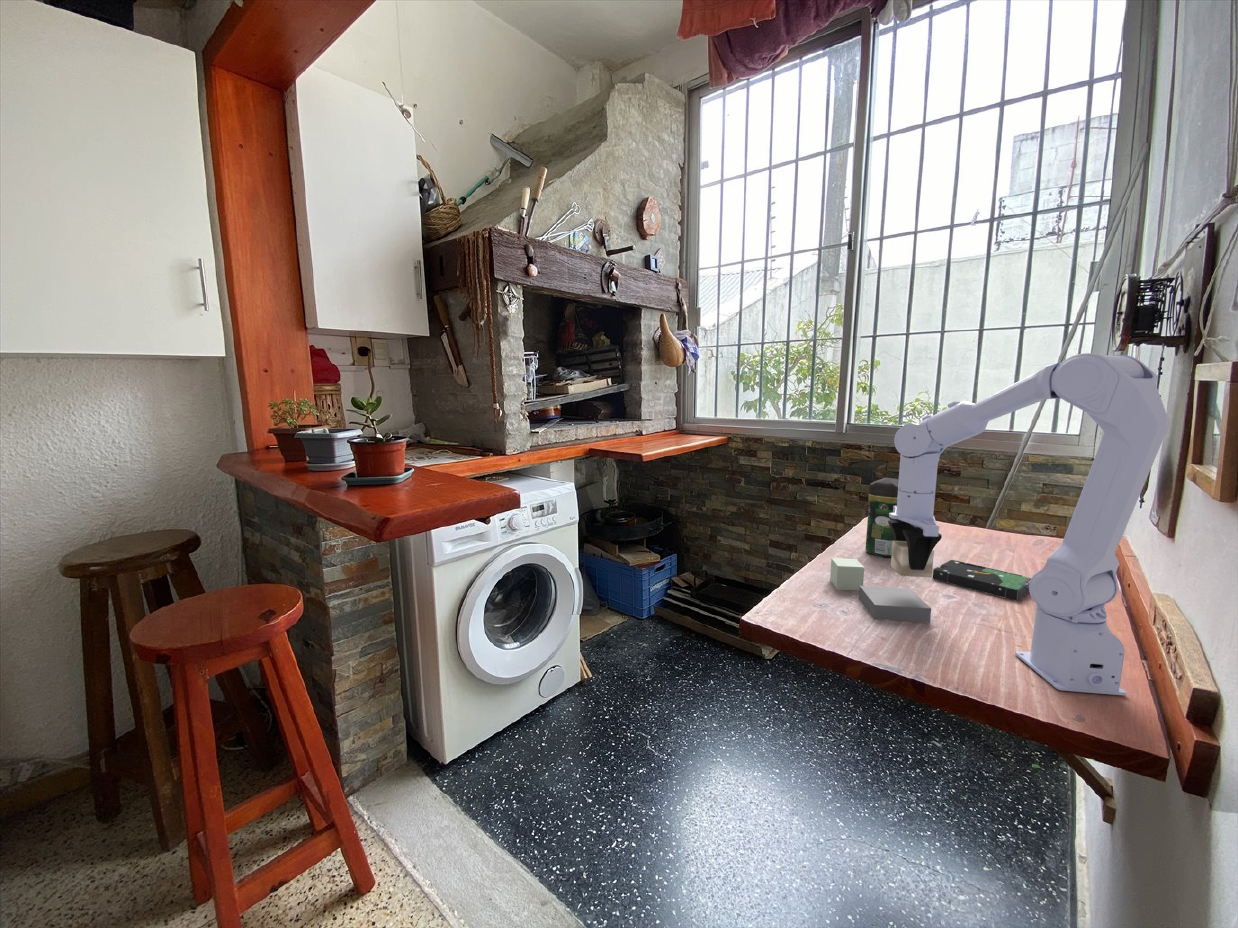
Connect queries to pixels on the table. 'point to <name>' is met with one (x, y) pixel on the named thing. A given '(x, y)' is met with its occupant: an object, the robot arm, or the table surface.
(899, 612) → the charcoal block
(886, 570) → the table surface
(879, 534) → the coffee jar
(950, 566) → the disk drive
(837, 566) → the sage cube
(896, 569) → the birch cube
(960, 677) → the table surface
